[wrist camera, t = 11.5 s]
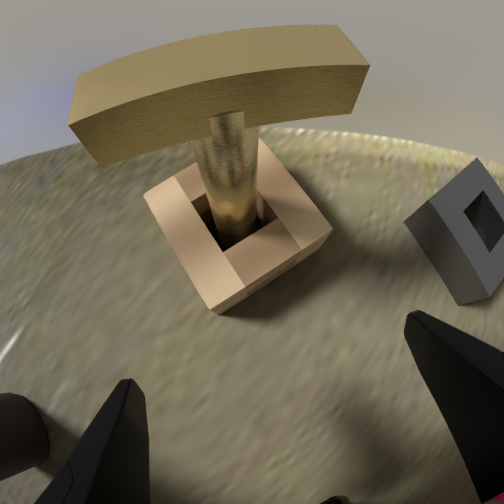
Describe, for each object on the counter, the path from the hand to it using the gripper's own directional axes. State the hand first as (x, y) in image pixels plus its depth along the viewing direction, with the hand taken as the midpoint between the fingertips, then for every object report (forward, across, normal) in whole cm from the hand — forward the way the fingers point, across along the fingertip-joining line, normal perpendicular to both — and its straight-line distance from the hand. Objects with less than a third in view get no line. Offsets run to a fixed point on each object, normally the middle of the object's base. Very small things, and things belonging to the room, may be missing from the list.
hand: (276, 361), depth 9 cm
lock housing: (+10, -18, +5) cm, 21 cm away
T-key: (+13, 0, +2) cm, 13 cm away
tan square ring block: (+13, 0, +2) cm, 13 cm away
